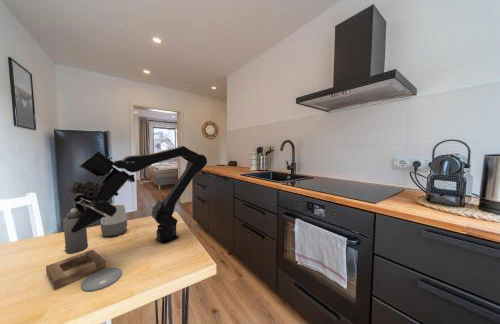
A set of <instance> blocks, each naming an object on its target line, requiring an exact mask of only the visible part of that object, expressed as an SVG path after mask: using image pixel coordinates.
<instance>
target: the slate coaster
mask: <svg viewBox="0 0 500 324" xmlns="http://www.w3.org/2000/svg"><path fill="white" fill-rule="evenodd" d="M122 274H123V271H122V269H121V268H120V267H115V266H112V267H106V268H104V269H102V270H99V271H97V272H95V273H93V274H91V275H88V276H86V277H84V279H83V280H82V282H81V283H80V289H81V291H84V292H88V293H89V292H95V291H101V290H103V289H105V288H108V287H110V286H111V285H113V284H115V283H116V282H117V281H118V280H119V279H120V278H121V277H122Z"/></svg>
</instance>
